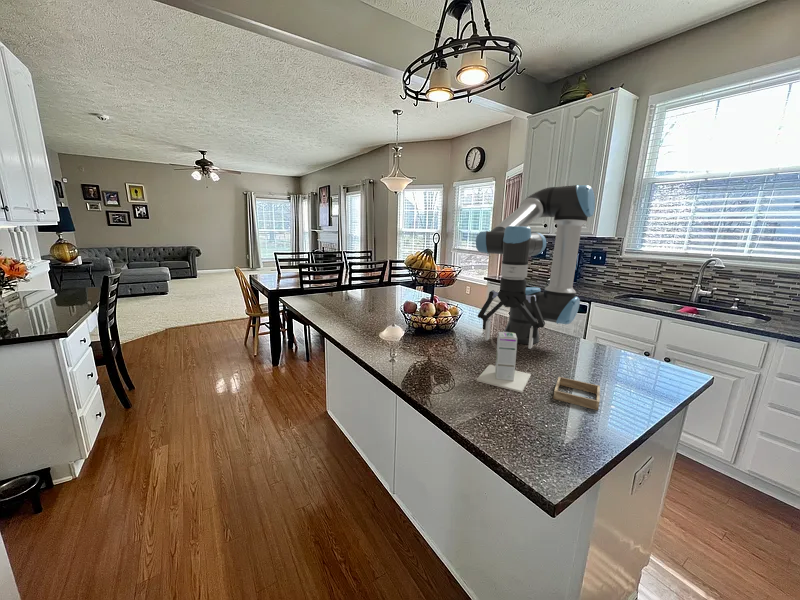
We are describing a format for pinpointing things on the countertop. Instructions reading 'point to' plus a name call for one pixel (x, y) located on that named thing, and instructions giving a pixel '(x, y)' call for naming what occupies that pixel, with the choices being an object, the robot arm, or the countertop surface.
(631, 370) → the countertop surface
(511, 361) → the syrup box
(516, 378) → the board
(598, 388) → the corral
